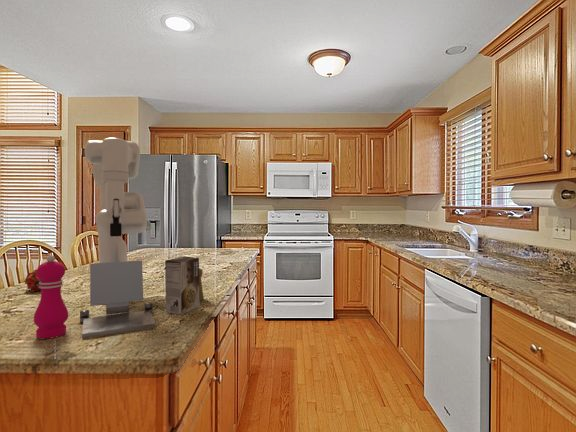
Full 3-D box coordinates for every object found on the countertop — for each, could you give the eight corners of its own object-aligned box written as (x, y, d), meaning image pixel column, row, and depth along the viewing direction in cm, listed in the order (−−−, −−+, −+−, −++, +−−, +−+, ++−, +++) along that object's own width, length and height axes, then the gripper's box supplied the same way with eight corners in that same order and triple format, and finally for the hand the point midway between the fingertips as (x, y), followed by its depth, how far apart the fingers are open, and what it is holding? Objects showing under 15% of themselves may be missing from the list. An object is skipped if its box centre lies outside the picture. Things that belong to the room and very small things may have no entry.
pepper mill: (45, 330, 91) (44, 253, 91) (74, 329, 92) (73, 253, 92) (26, 340, 84) (25, 257, 84) (58, 339, 85) (57, 257, 84)
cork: (199, 302, 119) (199, 270, 119) (182, 301, 120) (182, 269, 120) (206, 297, 125) (206, 267, 125) (191, 297, 126) (191, 266, 126)
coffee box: (184, 304, 116) (183, 256, 115) (200, 307, 113) (200, 257, 113) (164, 312, 107) (164, 259, 107) (181, 314, 105) (181, 261, 105)
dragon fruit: (42, 290, 143) (40, 300, 133) (20, 280, 139) (17, 290, 129) (56, 272, 145) (56, 282, 135) (35, 262, 140) (33, 271, 130)
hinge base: (80, 320, 99) (80, 309, 99) (151, 311, 108) (151, 301, 108) (77, 339, 85) (77, 327, 85) (159, 327, 94) (159, 316, 94)
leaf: (90, 316, 98) (90, 316, 100) (143, 310, 105) (143, 310, 107) (90, 263, 101) (90, 264, 103) (142, 260, 108) (141, 261, 110)
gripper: (101, 179, 116) (102, 235, 116) (102, 175, 102) (102, 238, 103) (126, 180, 119) (127, 234, 120) (130, 176, 106) (130, 237, 106)
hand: (115, 236), depth 111 cm, fingers closed
